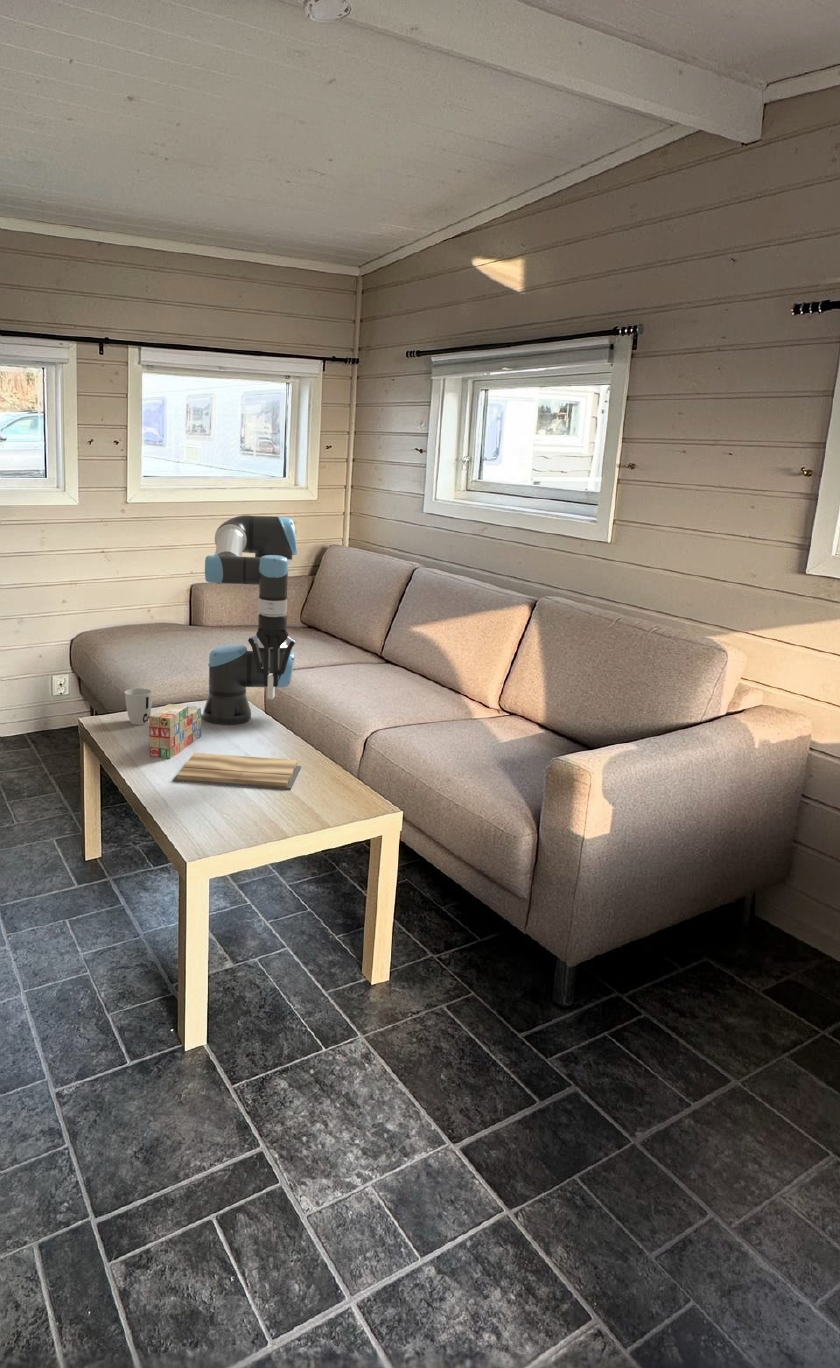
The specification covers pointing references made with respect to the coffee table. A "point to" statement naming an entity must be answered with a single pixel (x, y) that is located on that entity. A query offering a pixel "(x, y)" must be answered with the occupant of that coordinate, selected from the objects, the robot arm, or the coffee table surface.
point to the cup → (138, 705)
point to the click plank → (241, 764)
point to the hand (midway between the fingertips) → (270, 697)
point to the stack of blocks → (173, 729)
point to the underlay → (245, 784)
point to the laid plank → (234, 777)
